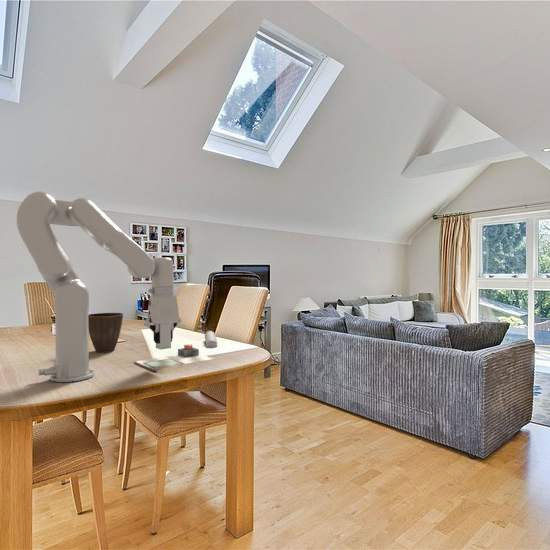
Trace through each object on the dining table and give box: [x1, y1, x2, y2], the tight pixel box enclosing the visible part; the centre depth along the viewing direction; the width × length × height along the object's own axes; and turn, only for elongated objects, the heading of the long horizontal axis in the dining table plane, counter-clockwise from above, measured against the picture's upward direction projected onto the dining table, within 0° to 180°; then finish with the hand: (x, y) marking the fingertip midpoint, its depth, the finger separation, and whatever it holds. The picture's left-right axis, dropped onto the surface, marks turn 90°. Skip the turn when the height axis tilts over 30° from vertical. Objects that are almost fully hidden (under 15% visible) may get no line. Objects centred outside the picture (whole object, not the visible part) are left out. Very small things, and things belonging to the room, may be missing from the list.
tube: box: [204, 330, 218, 348], centre depth 183 cm, size 5×5×25 cm
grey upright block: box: [155, 323, 172, 351], centre depth 140 cm, size 4×4×11 cm
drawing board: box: [133, 346, 215, 374], centre depth 146 cm, size 25×17×4 cm
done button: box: [183, 344, 193, 350], centre depth 155 cm, size 3×3×2 cm
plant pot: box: [88, 312, 124, 354], centre depth 169 cm, size 15×15×16 cm
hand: (163, 341), depth 140 cm, fingers closed on grey upright block, 4 cm apart
